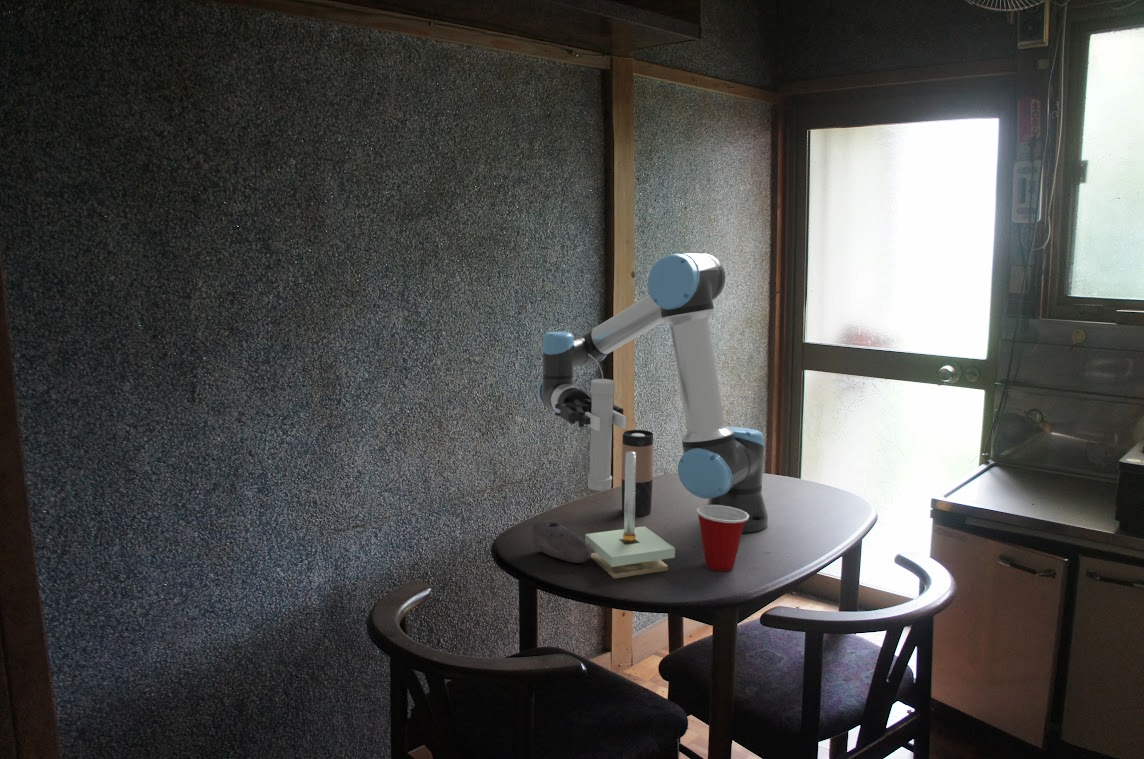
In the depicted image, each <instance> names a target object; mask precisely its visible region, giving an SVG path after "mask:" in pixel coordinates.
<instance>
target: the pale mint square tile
mask: <svg viewBox="0 0 1144 759" xmlns="http://www.w3.org/2000/svg"><path fill="white" fill-rule="evenodd" d="M623 534H624V528H622V529H615V530H607V531H599V532H593V533H591V532H590V533H586V534H584V536H585V539H584V542H585V543H586V545H587V547H589V548H590V549H591V550H592V551H593V552H594V553H595V552H596V553H597V554H598V555H599V556H600V557H601V558H603V559H604V560H605V561H606V562H607V563H608V564H609V565H610V566H612V567H615V566H622V565H628V564H635V563H642V562H648V561H655V560H661V561H663V560H666V559H675V558H676V548H675V547H674V546H673V545H672V544H670V543H669V542H667V541H665V540H664V539H663V538H661V537H660V536H659V535H657V534H656V533H655V532H653V531H652V530H650V529H649V528H647V527H646V526H637V527H636V526H635V535H636V538H635V541H634V544H628V545H625V544H624V541H623Z"/></svg>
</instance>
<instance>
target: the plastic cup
mask: <svg viewBox="0 0 1144 759" xmlns="http://www.w3.org/2000/svg"><path fill="white" fill-rule="evenodd" d="M695 512H696V513H697V516H698V521H699V527H700V528H699V529H700V535H701V536H700V537H701V545H702V550H703V551H702V552H703V555H704V556H703V557H704V563H705V566H706V567H707V568H708V569H710V570H712V571H715V572H717V571H718V572H727V571H731V570H733V569H734V567H735V563H736V558H737V554H738V552H739V547H740V543H741V540H742V539H741V538H742V531H743V528H744V525H745V523H746V521H747V520H748V518H749V515H748V514H747V513H746V512H744V511H742V510H740V509H737V508H733V507H729V506H722V505H705V504H703V505H700V506H698V507H697V508H696V509H695Z"/></svg>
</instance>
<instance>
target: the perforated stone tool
mask: <svg viewBox="0 0 1144 759" xmlns="http://www.w3.org/2000/svg"><path fill="white" fill-rule="evenodd" d="M531 539H532V540H531V541H532V544H533V546H534V547H535V548H536V549H537V550H539V551H540V552H542V553H543V554H545V555H547V556H549V557H553V558H555V559H558V560H562V561H566V562H569V563H575V564H583V563H585V562H586V561H587V560H588V559H589V556H590V551H589V548H588V547H589V546H588V545H587V544H586V543H585V539H583V538H582V537H581V536H580V535H579V534H577V533H576V532H574V531H573V530H571V529H570V528H568V527H566V526H564V525H562V524H560V523H557V522H554V521H552V520H549V519H539V520H538V521H537V522H535V523H534V524H533V526H532V532H531Z"/></svg>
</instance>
